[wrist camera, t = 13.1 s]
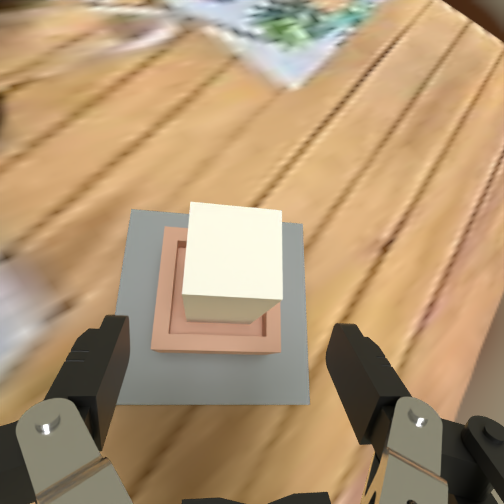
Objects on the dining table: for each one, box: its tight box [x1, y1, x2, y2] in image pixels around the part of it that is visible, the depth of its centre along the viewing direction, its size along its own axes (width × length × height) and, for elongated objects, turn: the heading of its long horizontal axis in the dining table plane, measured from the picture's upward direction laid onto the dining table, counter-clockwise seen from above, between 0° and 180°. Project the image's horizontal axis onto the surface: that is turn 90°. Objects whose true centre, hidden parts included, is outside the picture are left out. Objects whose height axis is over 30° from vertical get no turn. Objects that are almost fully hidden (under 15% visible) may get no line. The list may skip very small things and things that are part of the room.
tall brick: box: [182, 202, 283, 325], centre depth 20 cm, size 4×4×10 cm
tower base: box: [115, 209, 310, 405], centre depth 26 cm, size 16×16×7 cm
